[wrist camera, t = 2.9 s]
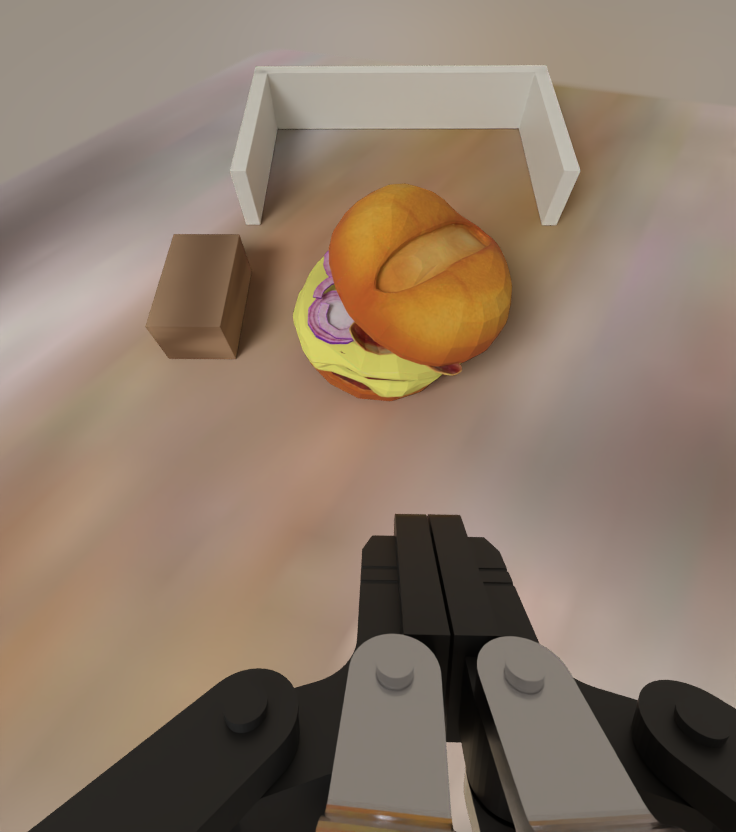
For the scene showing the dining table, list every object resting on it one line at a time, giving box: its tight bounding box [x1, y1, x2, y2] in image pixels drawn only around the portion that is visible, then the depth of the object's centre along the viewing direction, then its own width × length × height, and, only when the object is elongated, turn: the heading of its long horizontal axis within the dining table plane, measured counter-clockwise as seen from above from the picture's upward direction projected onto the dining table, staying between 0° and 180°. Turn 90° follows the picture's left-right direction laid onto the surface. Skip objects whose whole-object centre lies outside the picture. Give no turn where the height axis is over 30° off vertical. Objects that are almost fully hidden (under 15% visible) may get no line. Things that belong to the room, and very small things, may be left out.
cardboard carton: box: [145, 234, 252, 359], centre depth 26 cm, size 4×7×3 cm, turn 179°
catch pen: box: [230, 65, 580, 225], centre depth 32 cm, size 22×12×4 cm, turn 89°
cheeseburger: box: [293, 184, 512, 401], centre depth 23 cm, size 10×11×10 cm
